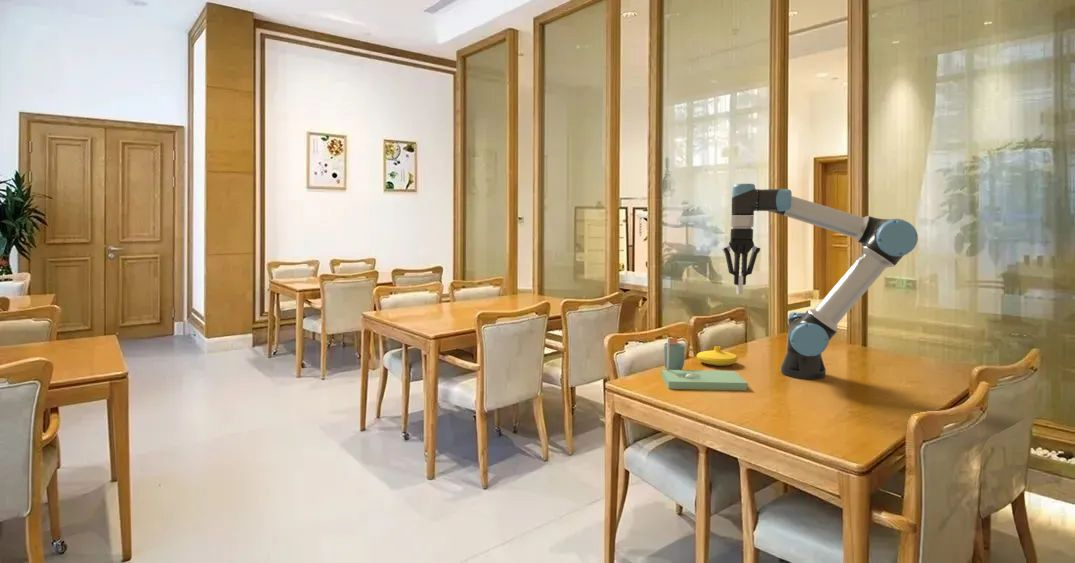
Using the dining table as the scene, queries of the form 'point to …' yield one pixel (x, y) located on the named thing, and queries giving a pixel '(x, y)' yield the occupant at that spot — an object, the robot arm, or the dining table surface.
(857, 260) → the robot arm
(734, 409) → the dining table surface
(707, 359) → the yellow round domed piece
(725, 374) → the green stand
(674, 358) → the cup
